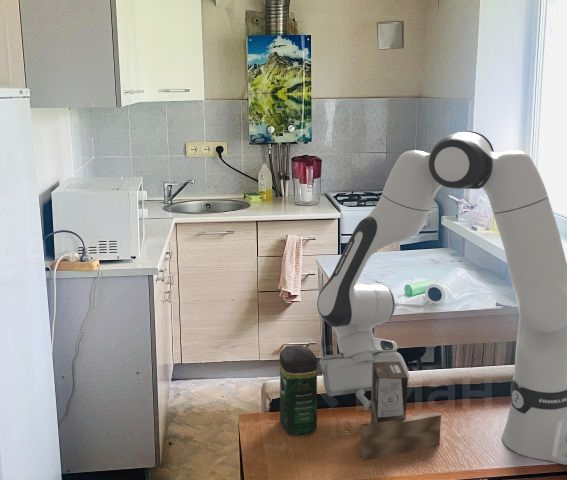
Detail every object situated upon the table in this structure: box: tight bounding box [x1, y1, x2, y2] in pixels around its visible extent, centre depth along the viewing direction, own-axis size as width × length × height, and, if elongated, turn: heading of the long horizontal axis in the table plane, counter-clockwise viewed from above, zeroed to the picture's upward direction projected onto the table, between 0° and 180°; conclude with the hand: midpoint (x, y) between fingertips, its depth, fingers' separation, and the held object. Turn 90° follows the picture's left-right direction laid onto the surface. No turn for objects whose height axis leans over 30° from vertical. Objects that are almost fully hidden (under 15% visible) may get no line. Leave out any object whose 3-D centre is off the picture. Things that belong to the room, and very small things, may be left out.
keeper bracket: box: [360, 411, 442, 461], centre depth 146 cm, size 18×6×7 cm, turn 109°
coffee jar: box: [279, 344, 318, 437], centre depth 154 cm, size 10×8×19 cm
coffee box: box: [370, 362, 409, 424], centre depth 149 cm, size 9×6×16 cm
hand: (374, 408), depth 154 cm, fingers closed
